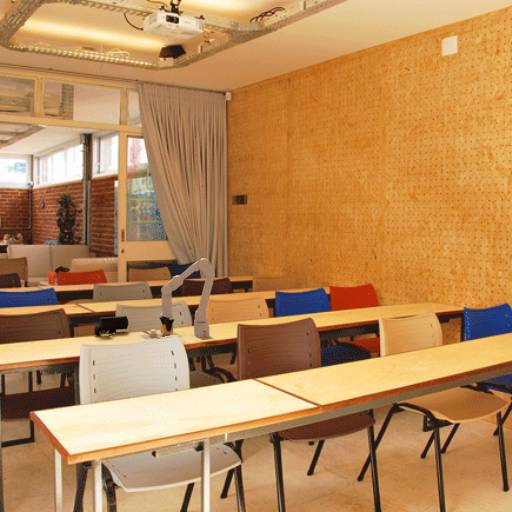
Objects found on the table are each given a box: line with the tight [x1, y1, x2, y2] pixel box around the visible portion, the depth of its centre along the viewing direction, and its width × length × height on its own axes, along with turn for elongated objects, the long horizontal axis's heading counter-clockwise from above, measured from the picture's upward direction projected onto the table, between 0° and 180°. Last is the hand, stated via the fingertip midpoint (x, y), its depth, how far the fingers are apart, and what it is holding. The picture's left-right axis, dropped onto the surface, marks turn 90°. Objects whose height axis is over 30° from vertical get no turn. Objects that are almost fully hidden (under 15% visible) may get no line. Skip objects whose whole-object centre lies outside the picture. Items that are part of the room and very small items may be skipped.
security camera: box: [94, 315, 129, 337], centre depth 362 cm, size 7×18×10 cm, turn 115°
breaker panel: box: [139, 331, 181, 340], centre depth 355 cm, size 12×20×3 cm, turn 118°
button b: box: [149, 329, 157, 334], centre depth 353 cm, size 2×2×2 cm
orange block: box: [160, 323, 174, 334], centre depth 356 cm, size 5×5×4 cm
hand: (166, 330), depth 356 cm, fingers closed on orange block, 5 cm apart
